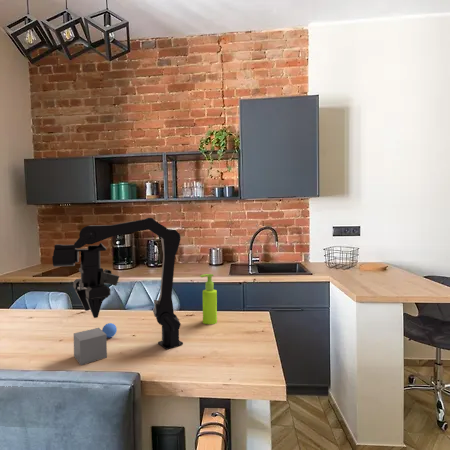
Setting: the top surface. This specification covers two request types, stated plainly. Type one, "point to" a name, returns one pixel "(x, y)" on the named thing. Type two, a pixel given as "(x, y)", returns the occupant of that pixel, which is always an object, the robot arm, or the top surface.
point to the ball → (109, 330)
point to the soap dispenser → (209, 302)
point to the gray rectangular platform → (90, 345)
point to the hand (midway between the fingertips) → (91, 314)
